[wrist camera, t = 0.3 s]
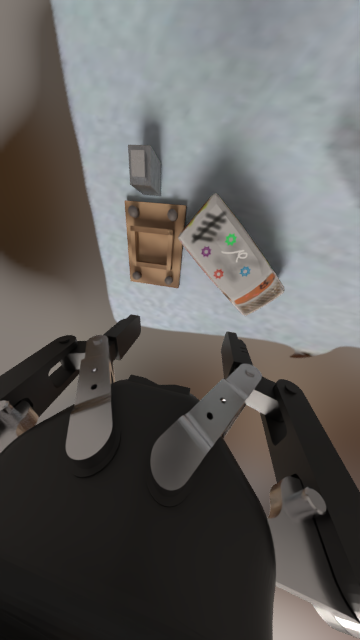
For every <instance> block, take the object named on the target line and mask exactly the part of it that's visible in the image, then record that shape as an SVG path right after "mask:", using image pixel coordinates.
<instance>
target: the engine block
mask: <svg viewBox="0 0 360 640" xmlns="http://www.w3.org/2000/svg"><path fill="white" fill-rule="evenodd" d="M128 152H129V169H130V185H132V186H133V187H134V188H135V189H137V190H138V191H139V192H141V193H142V194H143V195H152V196H161V162H160V161H159V159H158V157H157V156H156V154H155V152H154V150H153V149H152V147H151V145H128Z"/></svg>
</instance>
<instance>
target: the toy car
mask: <svg viewBox="0 0 360 640" xmlns="http://www.w3.org/2000/svg"><path fill="white" fill-rule="evenodd" d="M178 239H179V241H180V242H181V243H182V245H183V246H184V247H185V248H186V250H187V251H188V252H189V254H190V255H191V256H192V257H193V259H194V260H195V261H196V263H197V264H198V265H199V266H200V267H201V268H202V270H203V271H204V272H205V273H206V274H207V276H208V277H209V278H210V279H211V280H212V281H213V282H214V284H215V285H216V286H217V287H218V288H219V289H220V290H221V292H222V293H223V294H224V295H225V296H226V297H227V298H228V299H229V301H230V302H231V303H232V304H233V305H234V306H235V307H236V308H237V309H238V310H239V311H240V312H241V313H242V314H243V315H244V316H247V315H248V314H250V313H252V312H254V311H256V310H258V309H260V308H261V307H263V306H265V305H266V304H268V303H270V302H271V301H273V300H274V299H276V298H277V297H279V296H280V295H281V294H283V293H284V286H283V285H282V283H281V282H280V280H279V278H278V277H277V275H276V273H275V272H274V271H273V269H272V268H271V266H270V265H269V263H268V262H267V260H266V259H265V257H264V256H263V254H262V252H261V251H260V250H259V248H258V247H257V246H256V244H255V243H254V241H253V240H252V238H251V237H250V236H249V234H248V233H247V232H246V230H245V229H244V227H243V226H242V225H241V223H240V222H239V220H238V219H237V218H236V217H235V215H234V214H233V213H232V212H231V210H230V209H229V208H228V206H227V205H226V204H225V203H224V201H223V200H222V199H221V198H220V196H219V195H218V194H217V193H214V194H213V195H212V196H210V198H209V200H208V201H207V202H206V203H205V204H204V205H203V207H202V208H201V209H200V210H199V211H198V213H197V214H196V215H195V216H194V217H193V219H192V220H191V221H190V222H189V224H188V225H187V226H186V227H185V228H184V230H183V231H182V232H181V233H180V235H179V237H178Z"/></svg>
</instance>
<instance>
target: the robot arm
mask: <svg viewBox="0 0 360 640" xmlns="http://www.w3.org/2000/svg"><path fill="white" fill-rule="evenodd" d="M140 332H141V324H140V316H137V315H130V316H129V317H128V318H126V319H123V320H121V321H119V322H118V323H117V324H116V325H114V326H113V327H112V328H111V329H110V330H108V331H107V332H106V333H105V334H104V335H96V336H93V337H91V338H89V339H88V340H87V341H77V339H76V337H75V336H72V335H66V336H62V337H59V338H57V339H56V340H54V341H52V342H51V343H50V344H48V345H46V346H45V347H43V348H42V349H41V350H39V351H37V352H36V353H34V354H33V355H31V356H30V357H28V358H27V359H25V360H24V361H22V362H21V363H19V364H18V365H16V366H15V367H13V368H12V369H10V370H9V371H7V372H6V373H5V374H3V375H1V376H0V640H272V620H273V602H274V593H275V586H277V587H279V588H281V589H283V590H285V591H287V592H289V593H291V594H294V595H295V596H297V597H299V598H302V599H304V600H306V601H308V602H310V603H312V605H313V606H314V608H315V609H316V611H317V612H318V614H319V615H320V616H321V617H322V619H323V620H324V621H325V622H326V623H327V624H328V625H329V626H331V627H332V628H334V629H336V630H338V631H340V632H343V633H345V634H348V635H351V636H353V637H356V638H359V639H360V492H359V490H358V488H357V487H356V485H355V483H354V481H353V480H352V478H351V476H350V474H349V472H348V471H347V469H346V467H345V465H344V464H343V462H342V460H341V458H340V457H339V455H338V453H337V451H336V450H335V448H334V446H333V444H332V443H331V441H330V439H329V437H328V435H327V434H326V432H325V430H324V428H323V427H322V425H321V423H320V421H319V420H318V418H317V416H316V414H315V413H314V411H313V409H312V407H311V406H310V404H309V402H308V400H307V399H306V397H305V395H304V393H303V392H302V390H301V389H300V388H299V387H298V386H297V385H295V384H294V383H292V382H290V381H288V380H284V379H280V380H278V381H277V382H276V383H275V382H273V381H270V380H268V379H266V378H264V377H262V375H261V373H260V371H259V370H258V369H257V368H256V367H254V366H253V365H252V362H251V359H250V356H249V353H248V350H247V348H246V345H245V344H244V342H243V341H242V340H239V339H238V338H237V335H236V333H233V332H226V334H225V338H224V341H223V344H222V349H221V354H222V363H223V373H224V379H222V380H221V381H220V382H219V383H218V384H217V385H216V386H215V387H214V388H213V389H212V390H211V391H210V392H209V393H208V394H207V395H206V396H204V397H203V398H202V399H201V401H199V400H198V399H197V398H196V397H195V396H193V395H192V394H190V388H187V387H183V386H178V385H158V384H156V383H154V382H152V381H150V380H148V379H146V378H143V377H139V376H135V375H131V376H130V377H129V379H126V380H120V381H117V382H115V376H114V366H113V361H114V360H115V359H116V360H121V359H122V358H123V356H124V355H125V354H126V352H127V351H128V350H129V348H130V347H131V346H132V345H133V343H134V342H135V341H136V339H137V338H138V337H139V335H140ZM59 361H60V362H61V364H62V365H61V366H60V367H59V368H58V369H57V370H56V371H54V372H53V373H52V374H51V375H50V376H48V373H49V371H50V369H51V368H52V367H53V366H54V365H56V364H57V363H58V362H59ZM78 374H79V377H78V384H77V392H76V398H75V404H73V405H72V406H70V407H68V408H66V409H64V410H63V411H61V412H59V413H57V414H56V415H54V416H52V417H50V418H48V419H46V420H44V421H43V422H41V423H39V424H37V425H36V423H37V421H38V418H39V417H40V415H41V414H42V413H43V412H44V411H45V410H46V409H47V408H48V407H49V406H50V404H51V403H52V402H53V401H54V400H55V399H56V398H57V397H58V396H59V395H60V394H61V393H62V392H63V390H65V388H66V387H67V386H68V385H69V384H70V383H71V382H72V381H73V380H74V379H75V378H76V376H78ZM246 405H248V406H250V407H252V408H253V409H255V410H257V411H259V412H260V415H261V419H262V423H263V427H264V431H265V435H266V439H267V444H268V447H269V451H270V456H271V460H272V464H273V468H274V472H275V477H276V481H277V483H276V484H274V485H273V486H272V487H271V489H270V494H269V498H270V513H269V516H268V518H267V517H266V514H265V512H264V510H263V507H262V505H261V503H260V501H259V499H258V498H257V496H256V494H255V492H254V491H253V489H252V487H251V485H250V484H249V482H248V480H247V478H246V477H245V475H244V473H243V472H242V470H241V468H240V466H239V465H238V463H237V461H236V459H235V458H234V456H233V454H232V453H231V451H230V449H229V448H228V446H227V444H226V442H225V441H224V437H225V436H226V434H227V432H228V431H229V430H230V428H231V426H232V425H233V423H234V422H235V420H236V419H237V417H238V416H239V415H240V413H241V412H242V410H243V409H244V407H245V406H246Z"/></svg>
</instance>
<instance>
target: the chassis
mask: <svg viewBox="0 0 360 640" xmlns="http://www.w3.org/2000/svg"><path fill="white" fill-rule="evenodd" d="M125 212H126V225H127V239H128V252H129V266H130V279H131V281H134V282H141V283H147V284H154V285H160V286H167V287H173V288H179V280H180V270H181V259H182V249H183V245H182V243H181V242H180V241H179V239H178V237H179V235H180V233H181V232H182V231H183V230H184V228H185V218H186V206H185V205H173V204H161V203H148V202H136V201H125Z"/></svg>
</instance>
